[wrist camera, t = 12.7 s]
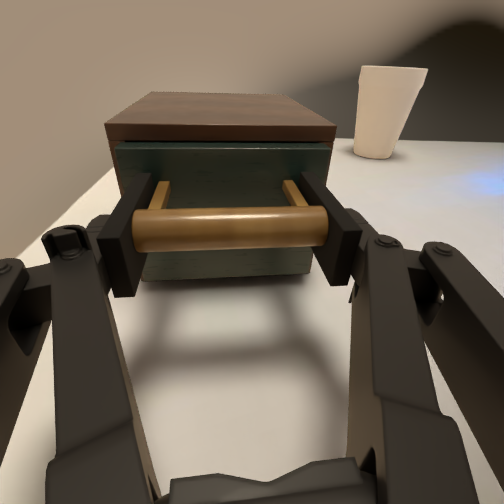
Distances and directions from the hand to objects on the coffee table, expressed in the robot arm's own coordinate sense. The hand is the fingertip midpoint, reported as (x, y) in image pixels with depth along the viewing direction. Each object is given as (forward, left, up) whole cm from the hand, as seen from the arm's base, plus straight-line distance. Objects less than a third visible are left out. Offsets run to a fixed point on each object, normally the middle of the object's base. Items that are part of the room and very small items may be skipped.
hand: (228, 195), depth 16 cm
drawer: (+3, -3, -6) cm, 8 cm away
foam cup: (+9, -43, -8) cm, 45 cm away
